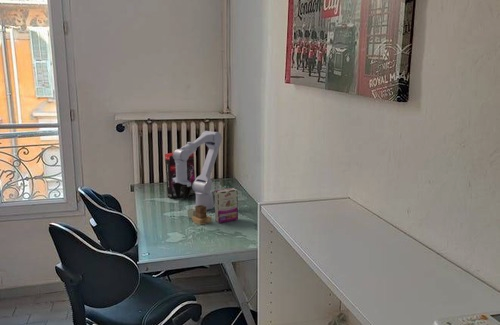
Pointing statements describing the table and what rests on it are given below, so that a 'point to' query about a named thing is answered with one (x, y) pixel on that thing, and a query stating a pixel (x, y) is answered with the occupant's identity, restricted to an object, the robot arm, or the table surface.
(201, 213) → the walnut block
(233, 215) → the candy bar box
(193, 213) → the sage block
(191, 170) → the graphics card box
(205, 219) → the oak slab
